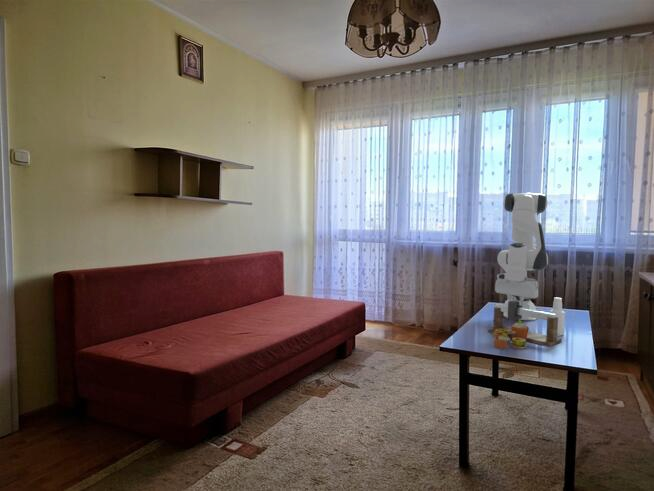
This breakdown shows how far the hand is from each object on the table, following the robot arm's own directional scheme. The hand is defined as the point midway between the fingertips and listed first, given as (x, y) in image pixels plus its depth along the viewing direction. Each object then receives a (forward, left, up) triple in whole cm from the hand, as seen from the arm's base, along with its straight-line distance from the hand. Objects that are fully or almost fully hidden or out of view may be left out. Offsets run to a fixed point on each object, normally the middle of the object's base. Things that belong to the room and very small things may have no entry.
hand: (515, 304), depth 205 cm
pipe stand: (0, +5, -15) cm, 16 cm away
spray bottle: (-19, +12, -15) cm, 27 cm away
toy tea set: (+15, +6, -15) cm, 22 cm away
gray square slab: (0, 0, -7) cm, 7 cm away
